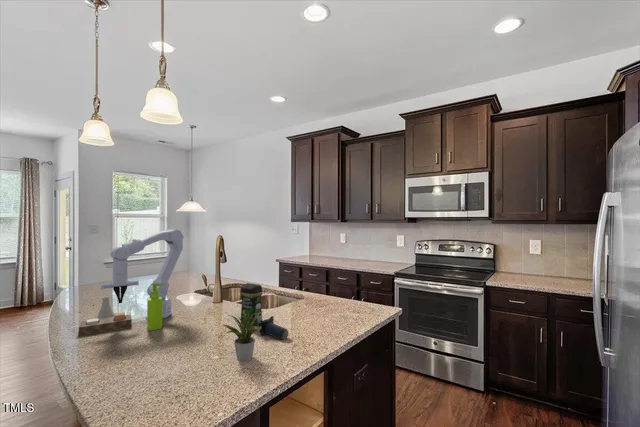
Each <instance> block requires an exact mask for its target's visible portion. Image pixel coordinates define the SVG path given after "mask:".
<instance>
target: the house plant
mask: <svg viewBox="0 0 640 427" xmlns="http://www.w3.org/2000/svg"><path fill="white" fill-rule="evenodd" d="M260 313H261V312H259V313H258V314H256V313H254V314H256V316H255V317H254V318H253V320H252V322H251V324H250V325H249V321H250V319H249V314H248V318H247V321H246V314H245V311H244V310H243V322H242V320H241V317H239V316H238V315H237V314H235V316H234V315H231V314H228V316H229V317H231V318H232V319H233V320H234V321H235V322H236V324H237V325H238V326H237V327H238V329H237V328H235V327H233V326H231V325H229V324H225V323H224V324H221V325H222V326H223V327H225V328H226V329H228V331H226V332H225V335H226V334H229V333H234V335H236V337H237V338H235V339H234V349H235V354H236V355H235V356H236V359H237V361H238V362H248V361H250V360H252V358H253V356H254V355H253V354H254V349H255V343H256V338H255V337H253V336H252V335H253V334H255V333H258V334H260V333H259V329H258V326H254V325H253V323H254V321H255V320H256V318H257V317H258V315H259V314H260ZM262 313H264V311H262ZM254 314H253V315H254ZM253 315H252V316H253ZM252 316H251V317H252ZM237 317H238V318H237ZM251 317H250V318H251ZM228 321H230V322H232V323H233V321H231V320H230V319H228ZM256 322H257V321H256ZM256 322H255V323H256ZM241 323H242V324H241ZM252 325H253V326H252Z"/></svg>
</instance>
